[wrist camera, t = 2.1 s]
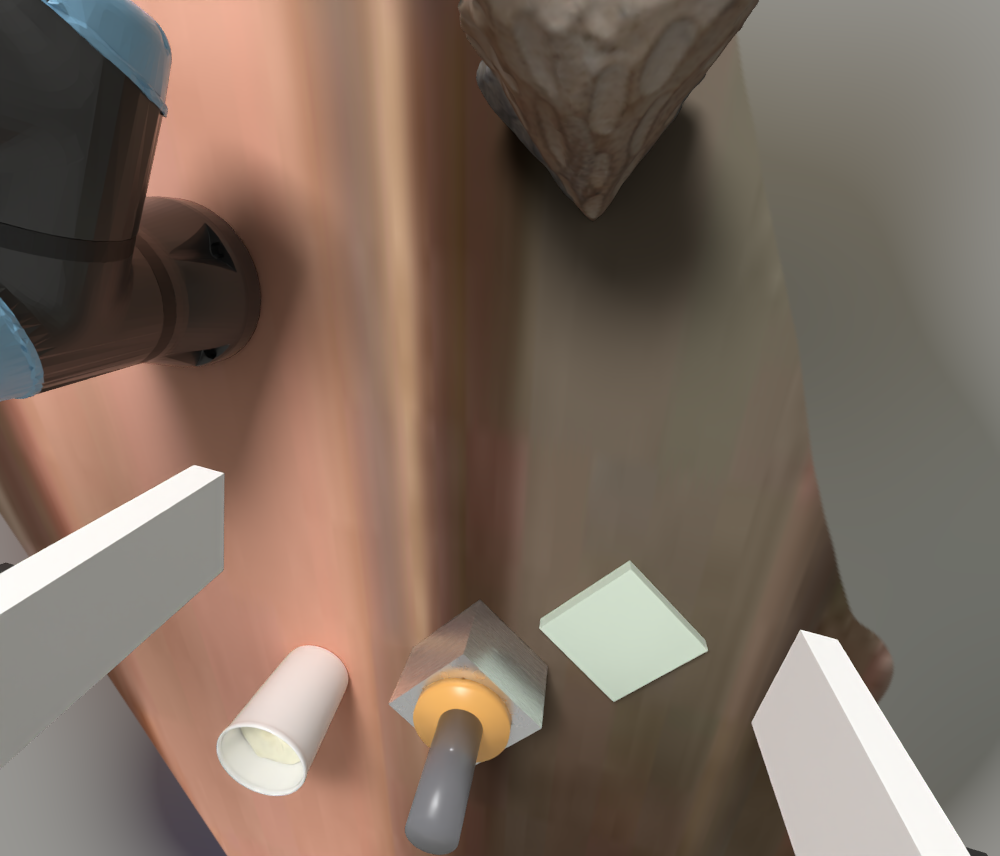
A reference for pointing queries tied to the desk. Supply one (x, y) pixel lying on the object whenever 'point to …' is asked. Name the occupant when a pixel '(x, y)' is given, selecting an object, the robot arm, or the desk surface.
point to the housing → (478, 667)
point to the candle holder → (284, 722)
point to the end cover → (452, 756)
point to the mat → (623, 632)
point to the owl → (594, 78)
